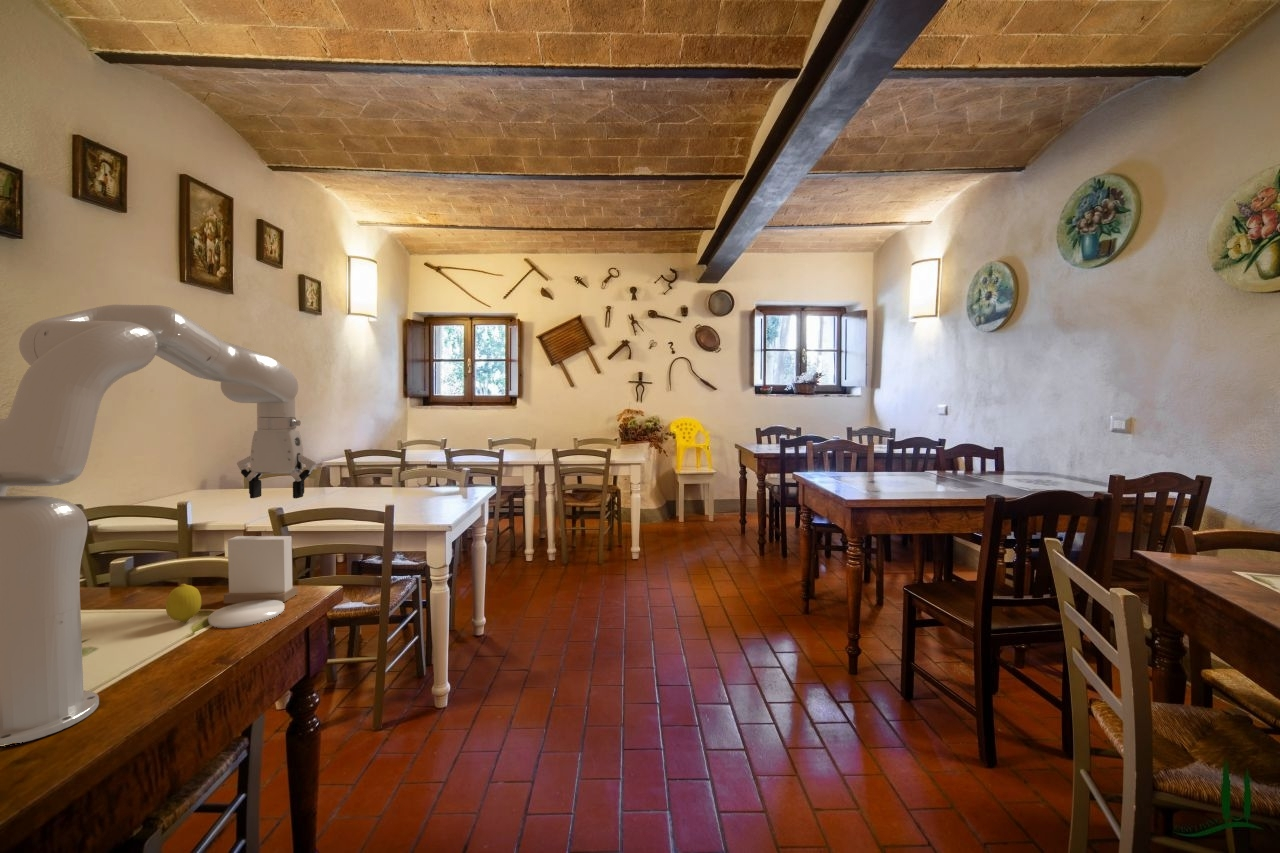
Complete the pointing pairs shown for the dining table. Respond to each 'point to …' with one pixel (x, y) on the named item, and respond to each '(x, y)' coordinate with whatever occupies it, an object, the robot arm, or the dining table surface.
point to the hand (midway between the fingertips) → (277, 497)
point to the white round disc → (246, 613)
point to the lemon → (183, 603)
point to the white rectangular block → (260, 569)
